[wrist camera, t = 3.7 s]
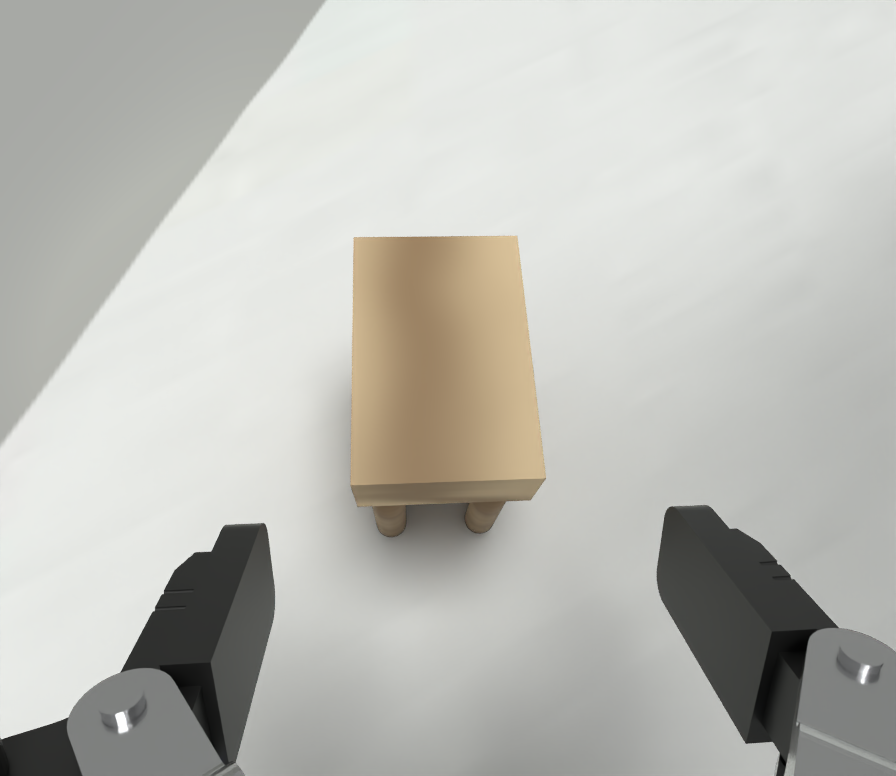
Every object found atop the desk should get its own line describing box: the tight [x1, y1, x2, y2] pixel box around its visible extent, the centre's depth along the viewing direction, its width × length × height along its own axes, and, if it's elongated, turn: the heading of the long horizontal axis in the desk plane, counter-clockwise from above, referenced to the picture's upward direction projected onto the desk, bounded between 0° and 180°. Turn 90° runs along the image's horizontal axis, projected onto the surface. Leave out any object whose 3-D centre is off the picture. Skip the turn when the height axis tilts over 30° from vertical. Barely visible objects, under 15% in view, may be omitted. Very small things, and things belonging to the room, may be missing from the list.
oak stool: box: [351, 236, 546, 537], centre depth 22 cm, size 5×8×9 cm, turn 3°
